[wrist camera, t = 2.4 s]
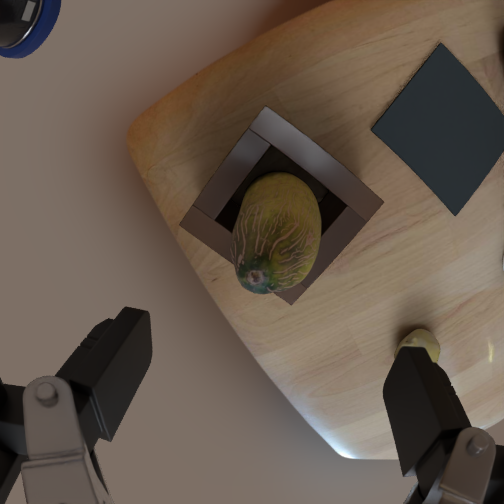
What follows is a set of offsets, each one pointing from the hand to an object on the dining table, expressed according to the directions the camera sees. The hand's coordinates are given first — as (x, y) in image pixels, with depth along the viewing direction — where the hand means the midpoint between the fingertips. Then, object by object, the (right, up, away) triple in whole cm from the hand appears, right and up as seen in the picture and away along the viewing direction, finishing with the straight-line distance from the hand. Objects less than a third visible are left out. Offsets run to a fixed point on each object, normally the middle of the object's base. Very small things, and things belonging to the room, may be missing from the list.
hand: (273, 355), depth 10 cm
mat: (+21, +17, +19) cm, 33 cm away
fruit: (+22, -9, +29) cm, 37 cm away
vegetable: (+2, +9, +23) cm, 25 cm away
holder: (+2, +9, +23) cm, 25 cm away
